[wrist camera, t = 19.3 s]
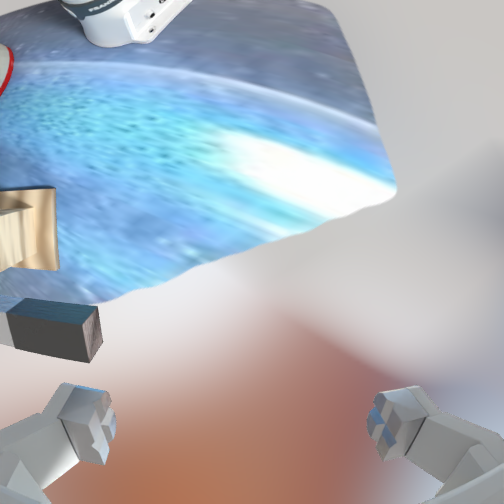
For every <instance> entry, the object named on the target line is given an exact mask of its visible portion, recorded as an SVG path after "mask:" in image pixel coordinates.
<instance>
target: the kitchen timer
mask: <svg viewBox="0 0 504 504" xmlns="http://www.w3.org/2000/svg"><path fill="white" fill-rule="evenodd" d="M13 64H14V57H13V53H12V51H11V49H10V48H8V47H7V46H5V45H3V44H0V96H1V94H2V93H3V91H4V90H5V88H6V86H7V84H8V82H9V80H10V77H11V74H12V70H13Z"/></svg>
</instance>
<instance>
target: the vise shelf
mask: <svg viewBox="0 0 504 504" xmlns="http://www.w3.org/2000/svg"><path fill="white" fill-rule="evenodd" d="M9 267H19V268H30V269H42V270H53V271H56V270H58V269H59V268H60V264H59V253H58V240H57V222H56V188H53V189H31V190H14V191H0V272H2V271H3V270H5V269H7V268H9Z"/></svg>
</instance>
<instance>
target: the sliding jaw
mask: <svg viewBox="0 0 504 504" xmlns="http://www.w3.org/2000/svg"><path fill="white" fill-rule="evenodd" d="M102 343H103V339H102V333H101V327H100V319H99V312H98V307H97V306H90V305H80V304H71V303H62V302H54V301H46V300H38V299H31V298H17V297H10V296H4V295H0V344H4V345H8V346H12V347H15V348H16V349H20V350H24V351H28V352H33V353H38V354H42V355H47V356H52V357H57V358H62V359H68V360H73V361H79V362H85V363H90V362H91V360H92V358H93V357H94V355H95V354H96V352H97V351H98V349H99V348H100V346H101V344H102Z"/></svg>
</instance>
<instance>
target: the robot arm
mask: <svg viewBox="0 0 504 504" xmlns="http://www.w3.org/2000/svg"><path fill="white" fill-rule="evenodd" d="M58 1H59V2H60V3H61V5H62V6H63V7H64V8H65V9H66V10H67V11H68V12H69V13H70V14H71V15H72V16H73V17H75V18H77V19H79V21H80V22H81V24H82V26H83V29H84V33H85V35H86V37H87V39H88V40H89V41H90V42H91V43H93V44H95V45H97V46H100V47H117V46H121V45H125V44H129V43H141V44H146V43H150V42H151V41H153V40H154V39H155V38H156V36H157V35H158V34H159V33H160V32H161V31H162V30H163V29H164V28H165V27H166V26H167V25H168V24H169V23H170V22H171V21H172V20H173V19H174V18H175V17H176V16H177V15H178V14H179V13H180V12H181V11H182V10H183V9H184V8H185V7H186V6H187V5H188V4H189V3H190V2H191V1H192V0H58ZM151 30H154V31H153V32H151V33H150V31H151ZM373 403H374V405H375V407H374V408H373V409H372V410H371V411H370V412H369V414H368V418H367V430H368V433H369V436H370V437H371V439H373V440H375V441H376V442H377V445H376V449H377V451H378V453H379V455H380V457H381V459H382V461H387V460H391V459H396V458H399V457H403V456H405V458H407V459H408V460H410V461H411V462H412V463H414V464H415V465H417V466H418V467H420V468H421V469H423V470H424V471H426V472H427V473H429V474H430V475H432V476H433V477H435V478H436V479H438V480H440V481H441V482H443V483H444V484H443V485H442V486H441V487H440V489H439V490H438V491H437V493H436V495H435V498H432V499H430V500H427V501H425V502H422V503H419V504H504V439H503V438H502V437H501V436H500V435H499V434H498V433H496V432H493V431H491V430H488V429H486V428H483V427H481V426H478V425H475V424H473V423H471V422H468V421H466V420H463V419H461V418H459V417H456V416H454V415H451V414H449V413H447V412H444V413H442V412H441V411H440V410H439V408H438V407H437V406H436V405H435V404H434V402H433V401H432V400H431V399H430V397H428V395H427V394H426V393H425V392H424V391H423V389H422V388H421V387H420V386H418V385H415V386H410V387H405V388H402V389H396V390H390V391H384V392H378V394H377V395H376V396H375V398H374V401H373ZM110 404H111V398H110V395H109V393H108V392H107V391H103V390H98V389H93V388H88V387H84V386H79V385H78V386H77V385H73V384H69V383H62V384H61V385H60V386H59V388H58V389H57V390H56V392H55V394H54V395H53V397H52V398H51V400H50V401H49V403H48V405H47V406H46V407H45V409H44V411H43V412H42V414H40V413H36V414H34V415H32V416H30V417H28V418H26V419H24V420H21V421H19V422H17V423H15V424H13V425H10V426H8V427H6V428H4V429H2V430H0V504H52V503H51V501H50V500H49V499H48V498H47V496H46V495H45V494H44V492H43V491H42V490H43V489H44V488H46V487H47V486H48V485H49V484H51V483H52V482H53V481H55V480H56V479H57V478H59V477H60V476H61V475H63V474H64V473H65V472H66V471H68V470H69V469H70V468H72V467H73V466H74V465H75V464H77V463H78V462H79V460H81V461H86V462H90V463H95V464H100V465H105V462H106V459H107V456H108V454H109V450H110V449H109V446H108V443H109V442H110V441H112V440H113V439H114V435H115V431H116V417H115V413H114V411H113V410H112V409H111V408H110V407H109V406H110Z"/></svg>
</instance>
